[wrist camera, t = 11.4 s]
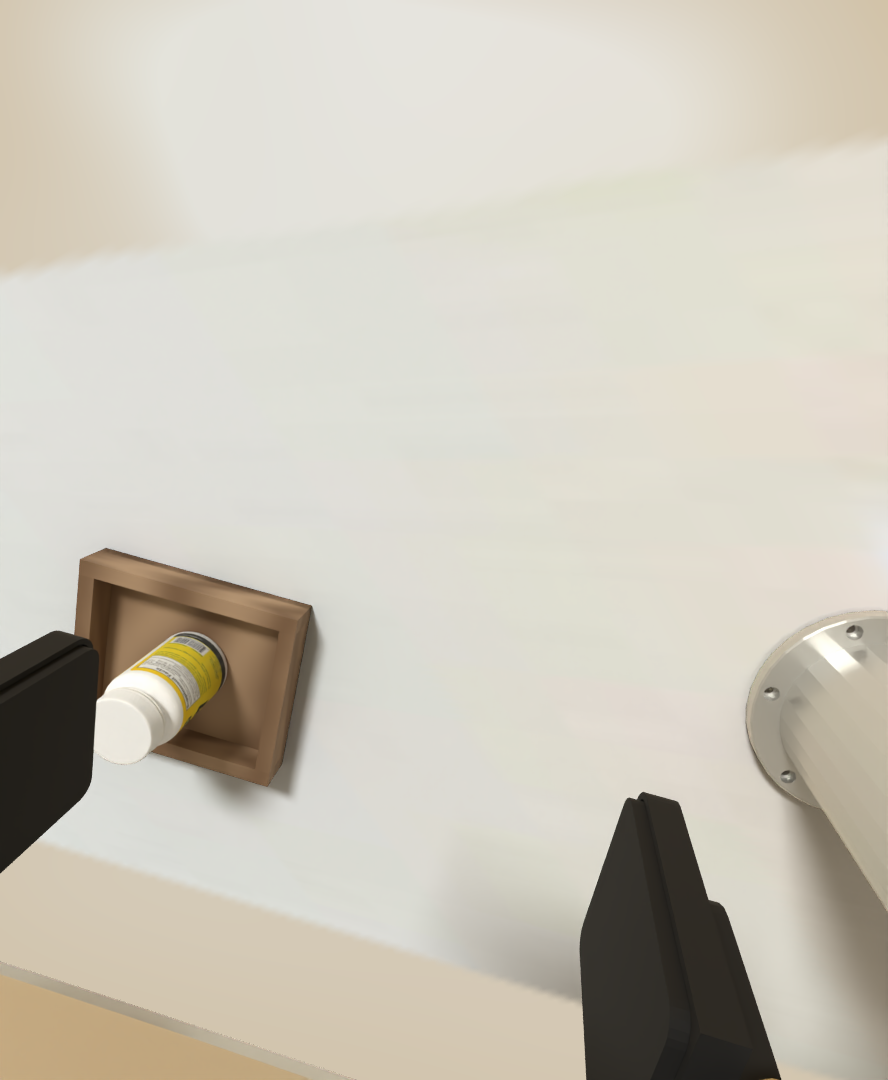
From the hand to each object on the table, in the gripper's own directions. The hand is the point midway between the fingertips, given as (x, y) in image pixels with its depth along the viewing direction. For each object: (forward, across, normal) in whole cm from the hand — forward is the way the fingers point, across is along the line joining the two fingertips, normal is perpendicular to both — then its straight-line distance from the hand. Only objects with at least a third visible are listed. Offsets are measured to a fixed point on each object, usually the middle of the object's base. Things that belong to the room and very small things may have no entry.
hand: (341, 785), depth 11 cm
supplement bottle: (+27, +16, +16) cm, 35 cm away
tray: (+28, +16, +16) cm, 36 cm away
